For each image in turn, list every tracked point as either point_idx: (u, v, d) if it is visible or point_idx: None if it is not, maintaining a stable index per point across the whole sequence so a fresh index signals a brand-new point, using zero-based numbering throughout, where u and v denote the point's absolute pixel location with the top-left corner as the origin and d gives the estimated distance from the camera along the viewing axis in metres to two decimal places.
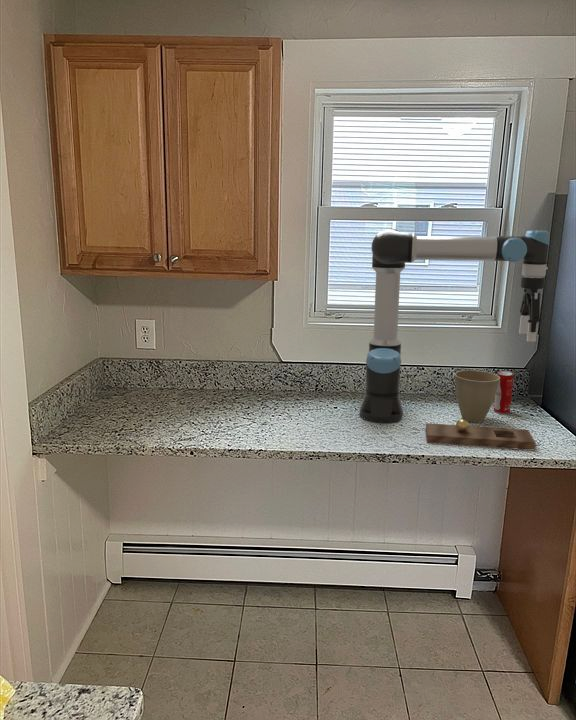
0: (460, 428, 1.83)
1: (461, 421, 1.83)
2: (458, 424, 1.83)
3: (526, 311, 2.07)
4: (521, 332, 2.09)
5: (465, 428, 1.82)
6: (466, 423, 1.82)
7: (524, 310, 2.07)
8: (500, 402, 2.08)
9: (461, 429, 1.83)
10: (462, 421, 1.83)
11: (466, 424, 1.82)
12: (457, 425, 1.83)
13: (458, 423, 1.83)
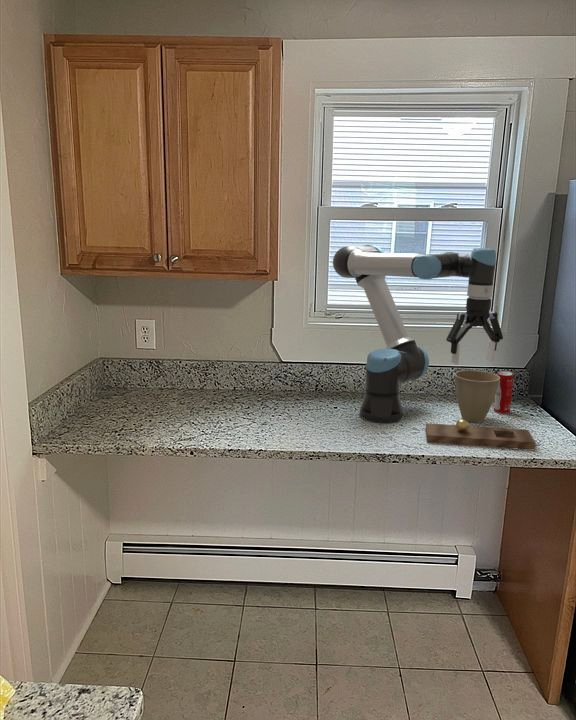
0: (460, 428, 1.83)
1: (461, 421, 1.83)
2: (458, 424, 1.83)
3: (491, 336, 1.90)
4: (487, 358, 1.93)
5: (465, 428, 1.82)
6: (466, 423, 1.82)
7: (488, 335, 1.90)
8: (500, 402, 2.08)
9: (461, 429, 1.83)
10: (462, 421, 1.83)
11: (466, 424, 1.82)
12: (457, 425, 1.83)
13: (458, 423, 1.83)
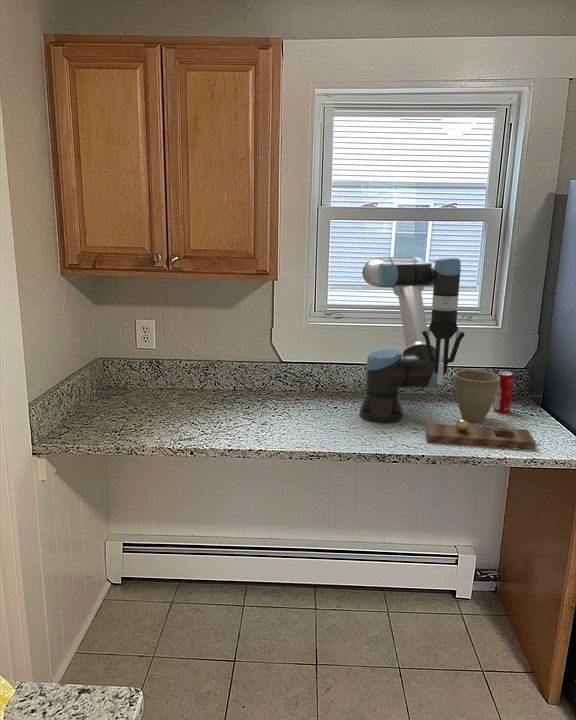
0: (460, 428, 1.83)
1: (461, 421, 1.83)
2: (458, 424, 1.83)
3: (443, 355, 1.80)
4: None
5: (465, 428, 1.82)
6: (466, 423, 1.82)
7: None
8: (500, 402, 2.08)
9: (461, 429, 1.83)
10: (462, 421, 1.83)
11: (466, 424, 1.82)
12: (457, 425, 1.83)
13: (458, 423, 1.83)
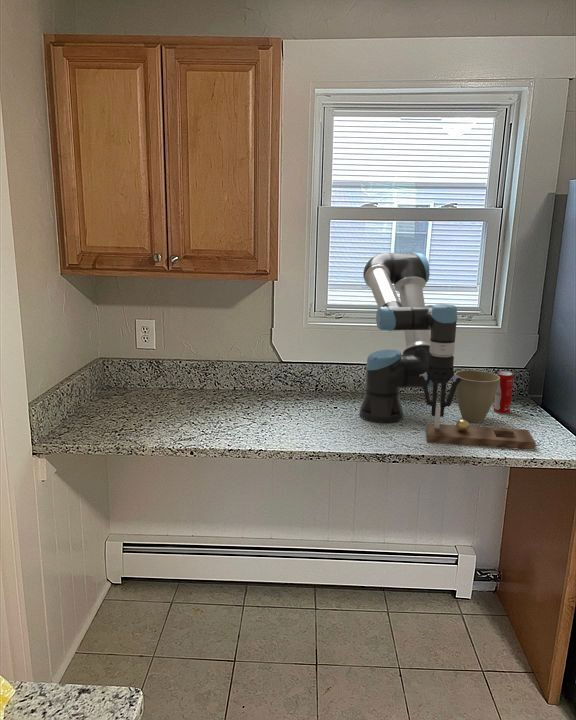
0: (460, 428, 1.83)
1: (461, 421, 1.83)
2: (458, 424, 1.83)
3: (440, 399, 1.83)
4: None
5: (465, 428, 1.82)
6: (466, 423, 1.82)
7: None
8: (500, 402, 2.08)
9: (461, 429, 1.83)
10: (462, 421, 1.83)
11: (466, 424, 1.82)
12: (457, 425, 1.83)
13: (458, 423, 1.83)
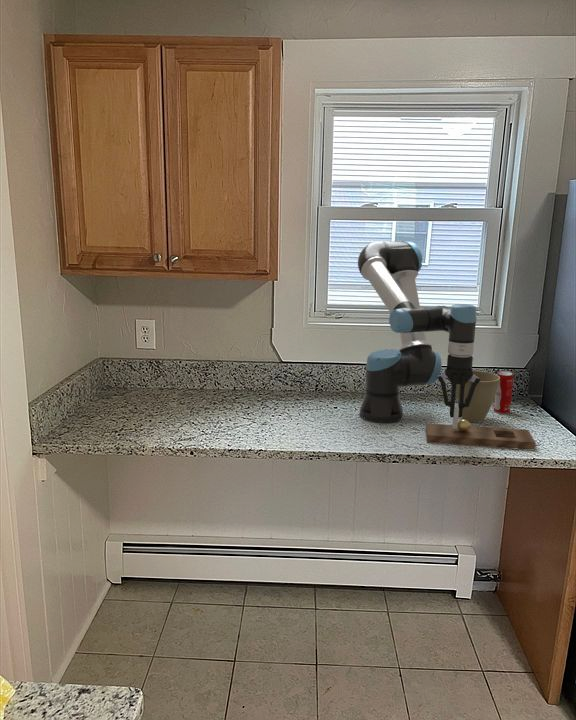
0: (461, 428, 1.83)
1: (463, 421, 1.83)
2: (460, 424, 1.83)
3: (459, 400, 1.82)
4: None
5: (466, 429, 1.82)
6: (468, 424, 1.82)
7: (459, 397, 1.82)
8: (500, 402, 2.08)
9: (462, 429, 1.83)
10: (464, 421, 1.83)
11: (468, 425, 1.82)
12: (458, 424, 1.83)
13: (460, 423, 1.83)
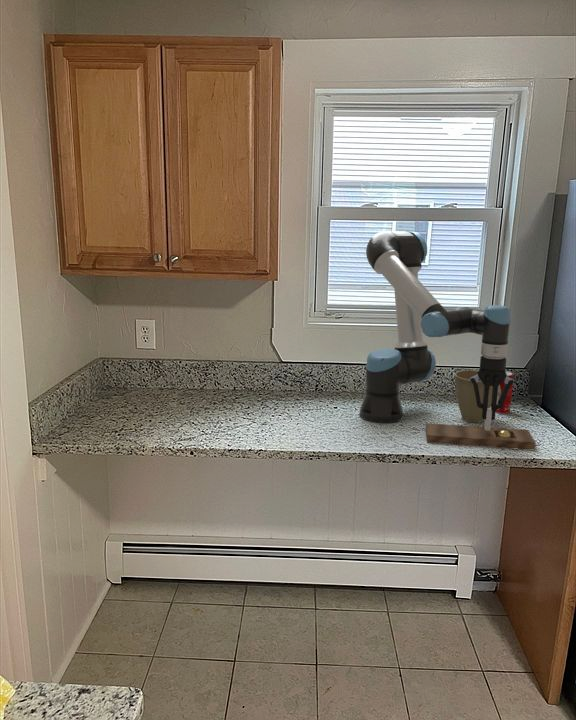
0: None
1: (505, 432, 1.81)
2: (501, 434, 1.81)
3: (492, 402, 1.80)
4: None
5: None
6: (509, 436, 1.81)
7: None
8: None
9: None
10: (506, 433, 1.81)
11: (509, 437, 1.81)
12: (500, 435, 1.81)
13: (501, 433, 1.81)
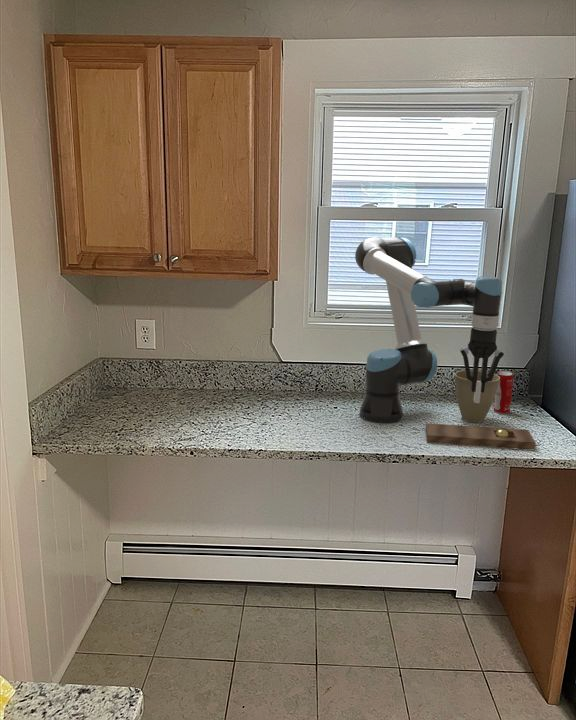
0: None
1: (501, 431, 1.81)
2: (498, 434, 1.81)
3: (481, 374, 1.79)
4: None
5: None
6: (506, 434, 1.81)
7: (481, 372, 1.80)
8: (500, 402, 2.08)
9: None
10: (503, 432, 1.81)
11: (507, 435, 1.81)
12: (497, 435, 1.82)
13: (498, 433, 1.81)
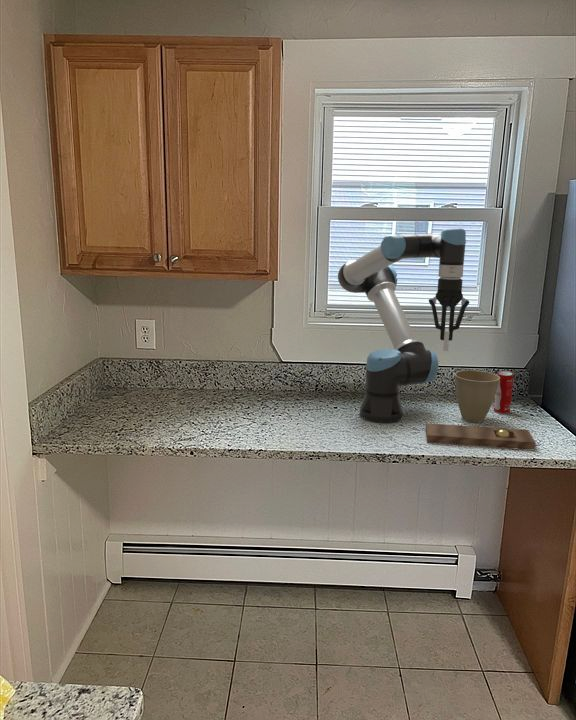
0: None
1: (503, 431, 1.81)
2: (500, 434, 1.81)
3: (449, 323, 1.88)
4: None
5: None
6: (507, 435, 1.81)
7: (449, 321, 1.89)
8: (500, 402, 2.08)
9: None
10: (504, 432, 1.81)
11: (508, 436, 1.81)
12: (498, 434, 1.81)
13: (500, 433, 1.81)
